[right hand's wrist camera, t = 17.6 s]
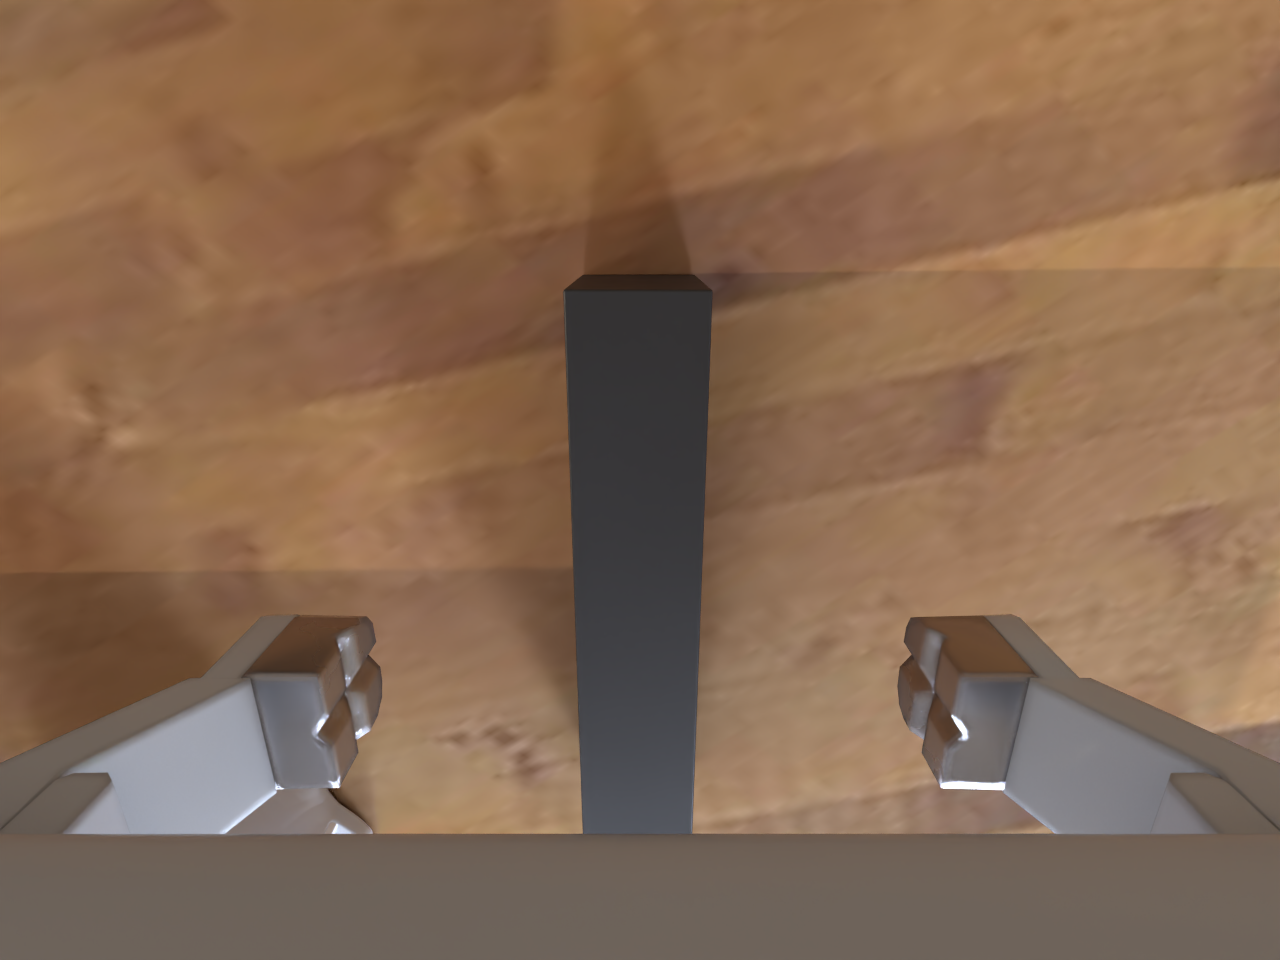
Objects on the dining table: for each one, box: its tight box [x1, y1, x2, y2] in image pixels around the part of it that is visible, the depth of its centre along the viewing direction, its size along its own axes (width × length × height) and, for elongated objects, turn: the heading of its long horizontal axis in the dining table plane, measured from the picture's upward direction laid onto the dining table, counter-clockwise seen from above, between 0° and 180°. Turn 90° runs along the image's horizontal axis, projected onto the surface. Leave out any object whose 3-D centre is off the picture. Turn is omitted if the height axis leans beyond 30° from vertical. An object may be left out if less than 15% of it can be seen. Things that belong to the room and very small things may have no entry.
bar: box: [563, 275, 712, 834], centre depth 31 cm, size 28×5×8 cm, turn 0°
